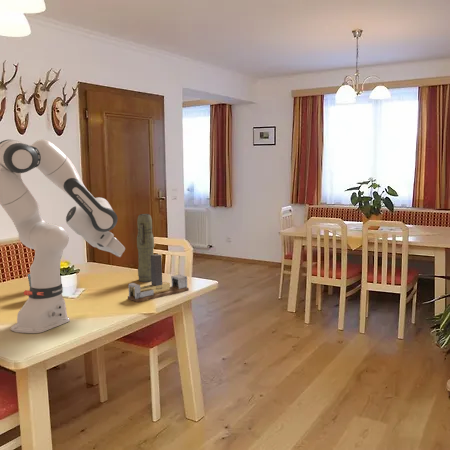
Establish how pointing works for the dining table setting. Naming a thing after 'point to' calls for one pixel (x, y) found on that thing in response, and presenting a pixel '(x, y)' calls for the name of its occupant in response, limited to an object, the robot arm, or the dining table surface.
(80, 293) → the dining table surface
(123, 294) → the dining table surface
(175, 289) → the rail board
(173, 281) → the sleeve and socket
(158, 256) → the blocks on base plate
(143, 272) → the grey stone statue
